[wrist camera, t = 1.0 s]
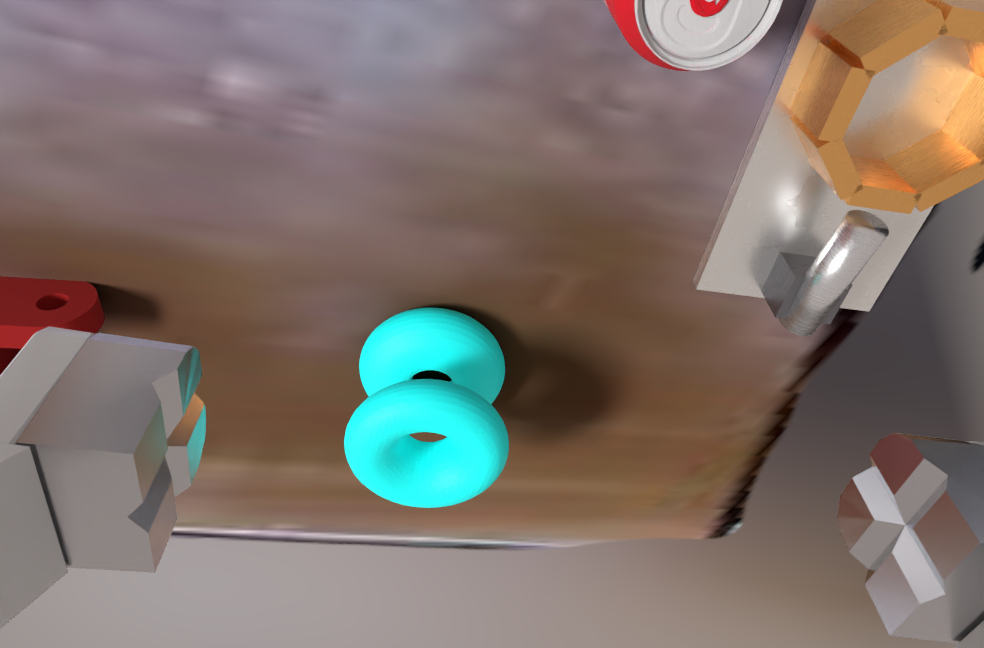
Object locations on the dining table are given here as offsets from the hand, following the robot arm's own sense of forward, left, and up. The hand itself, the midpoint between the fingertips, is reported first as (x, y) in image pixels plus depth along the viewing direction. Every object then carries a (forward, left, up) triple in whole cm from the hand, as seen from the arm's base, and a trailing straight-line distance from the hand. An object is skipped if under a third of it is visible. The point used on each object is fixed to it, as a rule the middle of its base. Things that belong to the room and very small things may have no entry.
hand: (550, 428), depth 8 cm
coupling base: (+4, +22, -32) cm, 39 cm away
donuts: (+27, 0, -33) cm, 42 cm away
